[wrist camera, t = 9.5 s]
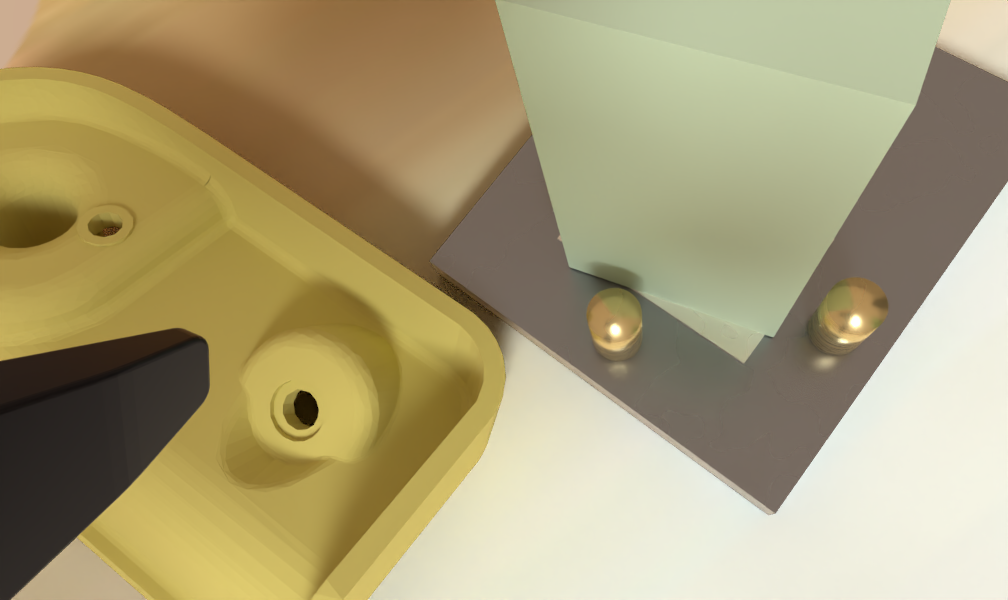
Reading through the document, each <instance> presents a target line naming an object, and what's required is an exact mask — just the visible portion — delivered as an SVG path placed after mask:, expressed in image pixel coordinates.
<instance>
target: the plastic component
mask: <svg viewBox="0 0 1008 600" xmlns="http://www.w3.org/2000/svg"><path fill="white" fill-rule="evenodd" d="M111 227H117V228H120V230H119V231H118V232H117V233H116V234H114V235H110V236H106V237H105V235H104V232H103V229H105V228H111ZM171 328H183V329H186V330H188V331H190V332H193V333H195V334H197V335H200V336H202V337H203V338H204V339H206V341H207V343H208V346H209V368H210V389H209V393H208V395H207V398H206V399H205V401H204V402H203V404H202V405H201V406H200V408H199V409H198V410H197V411H196V412H195V413H194V414H193V416H192V417H191V418H190V419H189V420H188V421H187V422H186V424H185V425H184V426H183V427H182V428H181V429H180V430H179V432H178V433H177V434H176V435H175V436H174V437H173V438H172V440H171V441H170V442H169V443H168V444H167V445H166V446H165V448H164V449H163V450H162V451H161V452H160V453H159V454H158V456H157V457H156V458H155V459H154V460H153V461H152V462H151V464H150V465H149V466H148V467H147V468H146V469H145V471H144V472H143V473H142V474H141V475H140V476H139V477H138V478H137V479H136V480H135V481H134V482H133V484H132V485H131V486H130V487H129V488H128V489H127V490H126V491H125V492H124V493H123V494H122V495H121V496H120V497H119V498H118V499H117V500H116V501H115V502H114V503H112V504H111V505H110V506H109V507H108V508H107V509H106V510H105V511H104V512H103V513H102V514H101V515H100V516H99V517H98V518H97V519H96V520H94V521H93V522H92V523H91V524H90V525H89V526H88V527H87V528H86V529H85V530H84V531H83V532H82V533H81V534H80V535H79V536H77V538H78V539H79V540H81V541H82V542H83V543H84V544H85V545H86V546H87V547H88V548H90V549H91V550H92V551H93V552H94V553H95V554H96V555H97V556H99V557H100V558H101V559H102V560H103V561H104V562H105V563H107V564H108V565H109V566H110V567H111V568H112V569H113V570H114V571H116V572H117V573H118V574H119V575H120V576H121V577H122V578H124V579H125V580H126V581H127V582H128V583H129V584H130V585H131V586H133V587H134V588H135V589H136V590H137V591H138V592H139V593H141V594H142V595H143V596H144V597H145V598H146V599H147V600H368V598H369V597H370V596H371V595H372V593H373V592H374V591H375V590H376V588H377V587H378V586H379V585H380V583H381V582H382V581H383V580H384V578H385V577H386V576H387V575H388V573H389V572H390V571H391V570H392V568H393V567H394V566H395V565H396V563H397V562H398V561H399V560H400V558H401V557H402V556H403V555H404V553H405V552H406V551H407V550H408V548H409V547H410V546H411V545H412V543H413V542H414V541H415V540H416V538H417V537H418V536H419V535H420V533H421V532H422V531H423V530H424V528H425V527H426V526H427V524H428V523H429V522H430V521H431V519H432V518H433V517H434V516H435V514H436V513H437V512H438V511H439V509H440V508H441V507H442V506H443V504H444V503H445V502H446V501H447V499H448V498H449V497H450V496H451V494H452V493H453V492H454V491H455V489H456V488H457V487H458V486H459V484H460V483H461V482H462V481H463V479H464V478H465V477H466V476H467V474H468V473H469V472H470V471H471V469H472V468H473V467H474V466H475V464H476V463H477V462H478V460H479V459H480V457H481V456H482V454H483V452H484V450H485V448H486V445H487V443H488V440H489V437H490V434H491V431H492V428H493V425H494V422H495V418H496V415H497V412H498V409H499V406H500V403H501V400H502V397H503V391H504V385H505V379H506V374H505V366H504V358H503V355H502V352H501V350H500V347H499V345H498V342H497V340H496V339H495V337H494V336H493V334H492V333H491V331H490V330H489V328H488V327H487V326H486V325H485V324H484V323H483V322H482V321H481V320H480V319H479V318H478V317H477V316H476V315H475V314H474V313H473V312H471V311H470V310H468V309H467V308H465V307H464V306H462V305H461V304H459V303H458V302H456V301H455V300H453V299H452V298H450V297H449V296H447V295H446V294H444V293H443V292H441V291H440V290H438V289H437V288H435V287H434V286H432V285H431V284H429V283H428V282H427V281H425V280H424V279H422V278H421V277H419V276H418V275H416V274H415V273H413V272H412V271H410V270H409V269H407V268H406V267H404V266H403V265H401V264H400V263H398V262H397V261H395V260H394V259H392V258H391V257H389V256H388V255H386V254H385V253H383V252H382V251H380V250H379V249H377V248H376V247H374V246H373V245H371V244H370V243H368V242H367V241H365V240H364V239H362V238H361V237H359V236H358V235H357V234H355V233H354V232H352V231H351V230H349V229H348V228H346V227H345V226H343V225H342V224H340V223H339V222H337V221H336V220H334V219H333V218H331V217H330V216H328V215H327V214H325V213H324V212H322V211H321V210H319V209H318V208H316V207H315V206H313V205H312V204H310V203H309V202H307V201H306V200H304V199H303V198H301V197H300V196H298V195H297V194H295V193H294V192H292V191H291V190H289V189H288V188H287V187H285V186H284V185H282V184H281V183H279V182H278V181H276V180H275V179H273V178H272V177H270V176H269V175H267V174H266V173H264V172H263V171H261V170H260V169H258V168H257V167H255V166H254V165H252V164H251V163H249V162H248V161H246V160H245V159H243V158H242V157H240V156H239V155H237V154H236V153H234V152H233V151H231V150H230V149H228V148H227V147H225V146H224V145H222V144H221V143H219V142H218V141H217V140H215V139H214V138H212V137H211V136H209V135H208V134H206V133H204V132H203V131H201V130H200V129H198V128H197V127H195V126H193V125H192V124H190V123H189V122H187V121H186V120H184V119H182V118H181V117H179V116H178V115H176V114H175V113H173V112H171V111H170V110H168V109H167V108H165V107H163V106H161V105H160V104H158V103H156V102H154V101H153V100H151V99H149V98H147V97H146V96H143V95H141V94H139V93H137V92H135V91H133V90H131V89H129V88H127V87H125V86H123V85H121V84H118V83H115V82H113V81H110V80H107V79H104V78H102V77H99V76H95V75H91V74H87V73H83V72H79V71H73V70H67V69H61V68H46V67H16V68H4V69H0V361H2V360H7V359H13V358H18V357H23V356H28V355H34V354H39V353H44V352H50V351H55V350H60V349H65V348H71V347H76V346H81V345H87V344H92V343H97V342H102V341H108V340H113V339H118V338H124V337H129V336H134V335H139V334H145V333H150V332H155V331H161V330H166V329H171ZM301 390H303V391H307V392H310V393H311V395H312V396H313V397H314V398H315V400H316V401H317V405H318V409H319V412H318V418H317V420H316V422H315V424H314V425H313V426H308V425H305V424H302V423H301V421H300V420H299V419H298V417H297V416H296V415H295V409H294V400H295V398H296V396H297V394H298V392H299V391H301Z"/></svg>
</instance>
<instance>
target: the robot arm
mask: <svg viewBox="0 0 1008 600" xmlns="http://www.w3.org/2000/svg"><path fill="white" fill-rule="evenodd" d="M209 389H210V368H209V346H208V343H207V341H206V339H204V338H203V337H202V336H200V335H197V334H195V333H193V332H190V331H188V330H186V329H183V328H171V329H166V330H161V331H155V332H150V333H145V334H139V335H134V336H129V337H124V338H118V339H113V340H108V341H102V342H97V343H92V344H87V345H81V346H76V347H71V348H65V349H60V350H55V351H50V352H44V353H39V354H34V355H28V356H23V357H18V358H13V359H7V360H2V361H0V600H11V599H12V598H13V597H14V596H15V595H16V594H17V593H18V592H19V591H20V590H21V589H22V588H23V587H24V586H25V585H27V584H28V583H29V582H30V581H31V580H32V579H33V578H34V577H35V576H36V575H37V574H38V573H39V572H40V571H41V570H42V569H44V568H45V567H46V566H47V565H48V564H49V563H50V562H51V561H52V560H53V559H54V558H55V557H56V556H57V555H58V554H59V553H60V552H62V551H63V550H64V549H65V548H66V547H67V546H68V545H69V544H70V543H71V542H72V541H73V540H74V539H75V538H76V537H77V536H79V535H80V534H81V533H82V532H83V531H84V530H85V529H86V528H87V527H88V526H89V525H90V524H91V523H92V522H93V521H94V520H96V519H97V518H98V517H99V516H100V515H101V514H102V513H103V512H104V511H105V510H106V509H107V508H108V507H109V506H110V505H111V504H112V503H114V502H115V501H116V500H117V499H118V498H119V497H120V496H121V495H122V494H123V493H124V492H125V491H126V490H127V489H128V488H129V487H130V486H131V485H132V484H133V482H134V481H135V480H136V479H137V478H138V477H139V476H140V475H141V474H142V473H143V472H144V471H145V469H146V468H147V467H148V466H149V465H150V464H151V462H152V461H153V460H154V459H155V458H156V457H157V456H158V454H159V453H160V452H161V451H162V450H163V449H164V448H165V446H166V445H167V444H168V443H169V442H170V441H171V440H172V438H173V437H174V436H175V435H176V434H177V433H178V432H179V430H180V429H181V428H182V427H183V426H184V425H185V424H186V422H187V421H188V420H189V419H190V418H191V417H192V416H193V414H194V413H195V412H196V411H197V410H198V409H199V408H200V406H201V405H202V404H203V402H204V401H205V399H206V398H207V395H208V393H209Z"/></svg>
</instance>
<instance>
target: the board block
mask: <svg viewBox="0 0 1008 600" xmlns="http://www.w3.org/2000/svg"><path fill="white" fill-rule="evenodd" d="M950 1H951V0H495V2H496V5H497V9H498V13H499V16H500V20H501V23H502V27H503V31H504V34H505V38H506V41H507V45H508V49H509V52H510V56H511V59H512V63H513V67H514V70H515V74H516V77H517V81H518V85H519V88H520V92H521V95H522V99H523V103H524V106H525V110H526V113H527V117H528V121H529V124H530V128H531V131H532V135H533V139H534V142H535V146H536V149H537V153H538V157H539V160H540V164H541V167H542V171H543V175H544V178H545V182H546V185H547V189H548V193H549V196H550V200H551V203H552V207H553V211H554V214H555V218H556V221H557V225H558V229H559V232H560V236H561V239H562V243H563V247H564V250H565V254H566V257H567V261H568V265H569V267H571V268H574V269H577V270H579V271H582V272H585V273H588V274H591V275H594V276H597V277H600V278H603V279H606V280H608V281H611V282H614V283H617V284H620V285H623V286H626V287H629V288H632V289H634V290H637V291H640V292H643V293H646V294H649V295H652V296H655V297H658V298H660V299H663V300H666V301H669V302H672V303H675V304H678V305H681V306H684V307H687V308H689V309H692V310H695V311H698V312H701V313H704V314H707V315H710V316H713V317H715V318H718V319H721V320H724V321H727V322H730V323H733V324H736V325H739V326H742V327H744V328H747V329H750V330H753V331H756V332H759V333H762V334H765V335H768V336H770V337H774V336H775V334H776V332H777V331H778V329H779V328H780V326H781V324H782V323H783V321H784V319H785V318H786V316H787V314H788V313H789V311H790V310H791V308H792V306H793V305H794V303H795V301H796V300H797V298H798V297H799V295H800V293H801V292H802V290H803V288H804V287H805V285H806V283H807V282H808V280H809V279H810V277H811V275H812V274H813V272H814V270H815V269H816V267H817V266H818V264H819V262H820V261H821V259H822V257H823V256H824V254H825V253H826V251H827V249H828V248H829V246H830V244H831V243H832V241H833V239H834V238H835V236H836V235H837V233H838V231H839V230H840V228H841V226H842V225H843V223H844V222H845V220H846V218H847V217H848V215H849V213H850V212H851V210H852V208H853V207H854V205H855V204H856V202H857V200H858V199H859V197H860V195H861V194H862V192H863V191H864V189H865V187H866V186H867V184H868V182H869V181H870V179H871V178H872V176H873V174H874V173H875V171H876V169H877V168H878V166H879V164H880V163H881V161H882V160H883V158H884V156H885V155H886V153H887V151H888V150H889V148H890V147H891V145H892V143H893V142H894V140H895V138H896V137H897V135H898V133H899V132H900V130H901V129H902V127H903V125H904V124H905V122H906V120H907V119H908V117H909V116H910V114H911V112H912V111H913V109H914V107H915V106H916V103H917V100H918V97H919V94H920V91H921V88H922V85H923V82H924V79H925V76H926V73H927V70H928V67H929V64H930V61H931V58H932V55H933V52H934V49H935V46H936V43H937V40H938V37H939V34H940V31H941V28H942V25H943V22H944V19H945V16H946V13H947V10H948V7H949V4H950Z"/></svg>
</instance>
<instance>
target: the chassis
mask: <svg viewBox="0 0 1008 600" xmlns="http://www.w3.org/2000/svg"><path fill="white" fill-rule="evenodd" d="M1007 182H1008V82H1007V81H1005V80H1003V79H1001V78H999V77H996V76H994V75H992V74H990V73H988V72H986V71H984V70H982V69H980V68H978V67H976V66H974V65H972V64H969V63H967V62H965V61H963V60H961V59H959V58H957V57H955V56H953V55H951V54H949V53H947V52H945V51H943V50H940V49H938V48H936V47H935V49H934V52H933V55H932V58H931V61H930V64H929V67H928V70H927V73H926V76H925V79H924V82H923V85H922V88H921V91H920V94H919V97H918V100H917V103H916V106H915V107H914V109H913V111H912V112H911V114H910V116H909V117H908V119H907V120H906V122H905V124H904V125H903V127H902V129H901V130H900V132H899V133H898V135H897V137H896V138H895V140H894V142H893V143H892V145H891V147H890V148H889V150H888V151H887V153H886V155H885V156H884V158H883V160H882V161H881V163H880V164H879V166H878V168H877V169H876V171H875V173H874V174H873V176H872V178H871V179H870V181H869V182H868V184H867V186H866V187H865V189H864V191H863V192H862V194H861V195H860V197H859V199H858V200H857V202H856V204H855V205H854V207H853V208H852V210H851V212H850V213H849V215H848V217H847V218H846V220H845V222H844V223H843V225H842V226H841V228H840V230H839V231H838V233H837V235H836V236H835V238H834V239H833V241H832V243H831V244H830V246H829V248H828V249H827V251H826V253H825V254H824V256H823V257H822V259H821V261H820V262H819V264H818V266H817V267H816V269H815V270H814V272H813V274H812V275H811V277H810V279H809V280H808V282H807V283H806V285H805V287H804V288H803V290H802V292H801V293H800V295H799V297H798V298H797V300H796V301H795V303H794V305H793V306H792V308H791V310H790V311H789V313H788V314H787V316H786V318H785V319H784V321H783V323H782V324H781V326H780V328H779V329H778V331H777V332H776V334H775V336H774V337H770V336H768V335H765V334H762V333H759V332H756V331H753V330H750V329H747V328H744V327H742V326H739V325H736V324H733V323H730V322H727V321H724V320H721V319H718V318H715V317H713V316H710V315H707V314H704V313H701V312H698V311H695V310H692V309H689V308H687V307H684V306H681V305H678V304H675V303H672V302H669V301H666V300H663V299H660V298H658V297H655V296H652V295H649V294H646V293H643V292H640V291H637V290H634V289H632V288H629V287H626V286H623V285H620V284H617V283H614V282H611V281H608V280H606V279H603V278H600V277H597V276H594V275H591V274H588V273H585V272H582V271H579V270H577V269H574V268H571V267H569V265H568V261H567V257H566V254H565V250H564V247H563V243H562V239H561V236H560V232H559V229H558V225H557V221H556V218H555V214H554V211H553V207H552V203H551V200H550V196H549V193H548V189H547V185H546V182H545V178H544V175H543V171H542V167H541V164H540V160H539V157H538V153H537V149H536V146H535V142H534V139H533V135H531V137H530V138H529V139H528V140H527V142H526V143H525V144H524V145H523V146H522V148H521V149H520V150H519V151H518V153H517V154H516V155H515V156H514V158H513V159H512V160H511V161H510V162H509V164H508V165H507V166H506V167H505V169H504V170H503V171H502V172H501V174H500V175H499V176H498V177H497V178H496V180H495V181H494V182H493V183H492V185H491V186H490V187H489V188H488V190H487V191H486V192H485V193H484V194H483V196H482V197H481V198H480V199H479V201H478V202H477V203H476V204H475V206H474V207H473V208H472V209H471V210H470V212H469V213H468V214H467V215H466V217H465V218H464V219H463V220H462V222H461V223H460V224H459V225H458V226H457V228H456V229H455V230H454V231H453V233H452V234H451V235H450V236H449V238H448V239H447V240H446V241H445V242H444V244H443V245H442V246H441V247H440V249H439V250H438V251H437V252H436V253H435V255H434V256H433V257H432V258H431V260H430V263H431V264H432V265H433V267H434V268H435V269H436V270H437V272H438V273H439V274H440V275H441V276H443V277H444V278H445V279H447V280H448V281H450V282H451V283H452V284H454V285H455V286H456V287H458V288H459V289H460V290H462V291H463V292H465V293H466V294H467V295H469V296H470V297H471V298H473V299H474V300H475V301H477V302H478V303H480V304H481V305H482V306H484V307H485V308H486V309H488V310H489V311H490V312H492V313H493V314H495V315H496V316H497V317H499V318H500V319H501V320H503V321H504V322H505V323H507V324H508V325H510V326H511V327H512V328H514V329H515V330H516V331H518V332H519V333H520V334H522V335H523V336H525V337H526V338H527V339H529V340H530V341H531V342H533V343H534V344H536V345H537V346H538V347H540V348H541V349H542V350H544V351H545V352H546V353H548V354H549V355H551V356H552V357H553V358H555V359H556V360H557V361H559V362H560V363H561V364H563V365H564V366H566V367H567V368H568V369H570V370H571V371H572V372H574V373H575V374H576V375H578V376H579V377H581V378H582V379H583V380H585V381H586V382H587V383H589V384H590V385H591V386H593V387H594V388H596V389H597V390H598V391H600V392H601V393H602V394H604V395H605V396H606V397H608V398H609V399H611V400H612V401H613V402H615V403H616V404H617V405H619V406H620V407H621V408H623V409H624V410H626V411H627V412H628V413H630V414H631V415H632V416H634V417H635V418H636V419H638V420H639V421H641V422H642V423H643V424H645V425H646V426H647V427H649V428H650V429H652V430H653V431H654V432H656V433H657V434H658V435H660V436H661V437H662V438H664V439H665V440H667V441H668V442H669V443H671V444H672V445H673V446H675V447H676V448H677V449H679V450H680V451H682V452H683V453H684V454H686V455H687V456H688V457H690V458H691V459H692V460H694V461H695V462H697V463H698V464H699V465H701V466H702V467H703V468H705V469H706V470H707V471H709V472H710V473H712V474H713V475H714V476H716V477H717V478H718V479H720V480H721V481H722V482H724V483H725V484H727V485H728V486H729V487H731V488H732V489H733V490H735V491H736V492H737V493H739V494H740V495H742V496H743V497H744V498H746V499H747V500H748V501H750V502H751V503H753V504H754V505H755V506H757V507H758V508H759V509H761V510H762V511H763V512H765V513H766V514H768V515H771V514H775V513H776V512H777V510H778V509H779V508H780V506H781V505H782V503H783V502H784V500H785V499H786V497H787V496H788V495H789V493H790V492H791V490H792V489H793V487H794V486H795V485H796V483H797V482H798V480H799V479H800V477H801V476H802V475H803V473H804V472H805V470H806V469H807V467H808V466H809V465H810V463H811V462H812V460H813V459H814V457H815V456H816V455H817V453H818V452H819V450H820V449H821V447H822V446H823V445H824V443H825V442H826V440H827V439H828V437H829V436H830V435H831V433H832V432H833V430H834V429H835V427H836V426H837V425H838V423H839V422H840V420H841V419H842V417H843V416H844V415H845V413H846V412H847V410H848V409H849V407H850V406H851V405H852V403H853V402H854V400H855V399H856V397H857V396H858V395H859V393H860V392H861V390H862V389H863V387H864V386H865V385H866V383H867V382H868V380H869V379H870V377H871V376H872V375H873V373H874V372H875V370H876V369H877V367H878V366H879V365H880V363H881V362H882V360H883V359H884V357H885V356H886V355H887V353H888V352H889V350H890V349H891V347H892V346H893V345H894V343H895V342H896V340H897V339H898V337H899V336H900V335H901V333H902V332H903V330H904V329H905V327H906V326H907V325H908V323H909V322H910V320H911V319H912V317H913V316H914V315H915V313H916V312H917V310H918V309H919V307H920V306H921V305H922V303H923V302H924V300H925V299H926V297H927V296H928V295H929V293H930V292H931V290H932V289H933V287H934V286H935V285H936V283H937V282H938V280H939V279H940V277H941V276H942V275H943V273H944V272H945V270H946V269H947V267H948V266H949V265H950V263H951V262H952V260H953V259H954V257H955V256H956V255H957V253H958V252H959V250H960V249H961V247H962V246H963V245H964V243H965V242H966V240H967V239H968V237H969V236H970V235H971V233H972V232H973V230H974V229H975V227H976V226H977V225H978V223H979V222H980V220H981V219H982V217H983V216H984V215H985V213H986V212H987V210H988V209H989V207H990V206H991V205H992V203H993V202H994V200H995V199H996V197H997V196H998V195H999V193H1000V192H1001V190H1002V189H1003V187H1004V186H1005V185H1006V183H1007Z"/></svg>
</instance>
